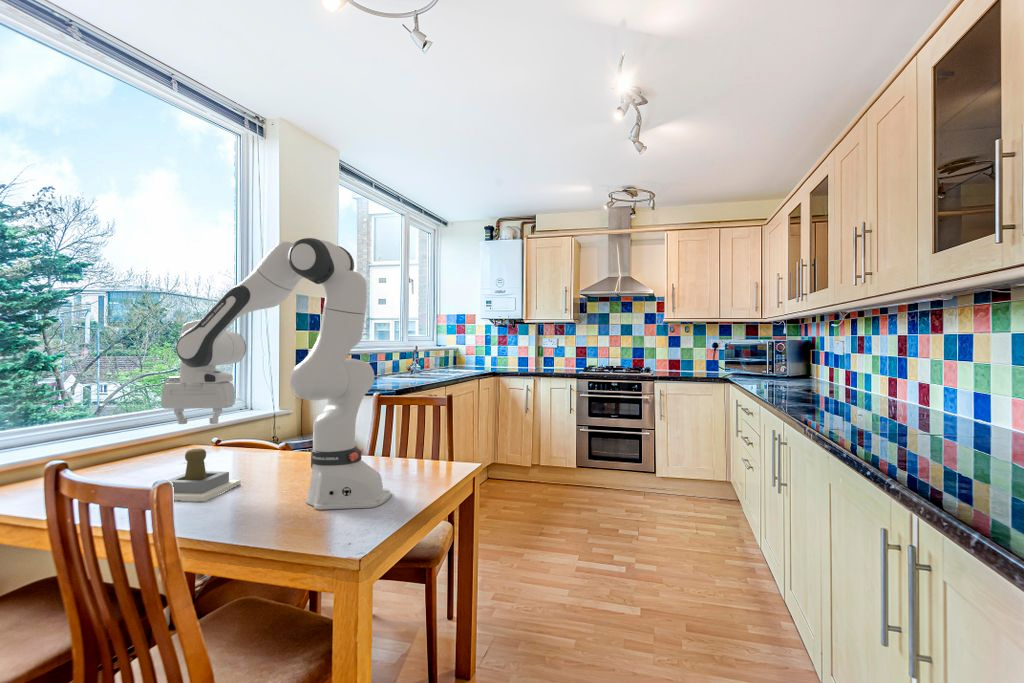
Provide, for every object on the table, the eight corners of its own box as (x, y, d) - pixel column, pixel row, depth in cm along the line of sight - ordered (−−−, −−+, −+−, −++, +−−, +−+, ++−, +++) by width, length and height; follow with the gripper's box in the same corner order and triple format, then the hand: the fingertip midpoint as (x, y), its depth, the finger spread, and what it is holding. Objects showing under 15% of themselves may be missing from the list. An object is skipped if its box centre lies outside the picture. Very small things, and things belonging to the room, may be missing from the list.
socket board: (240, 484, 149) (240, 470, 149) (204, 501, 133) (204, 485, 133) (190, 483, 150) (190, 469, 150) (148, 500, 134) (148, 483, 134)
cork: (195, 490, 137) (195, 451, 137) (177, 489, 139) (177, 450, 139) (212, 484, 143) (213, 447, 143) (195, 483, 144) (195, 446, 144)
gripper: (155, 377, 139) (155, 425, 139) (224, 376, 138) (224, 425, 137) (172, 376, 145) (172, 422, 145) (238, 375, 144) (238, 422, 144)
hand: (198, 423), depth 141 cm, fingers open, 8 cm apart
